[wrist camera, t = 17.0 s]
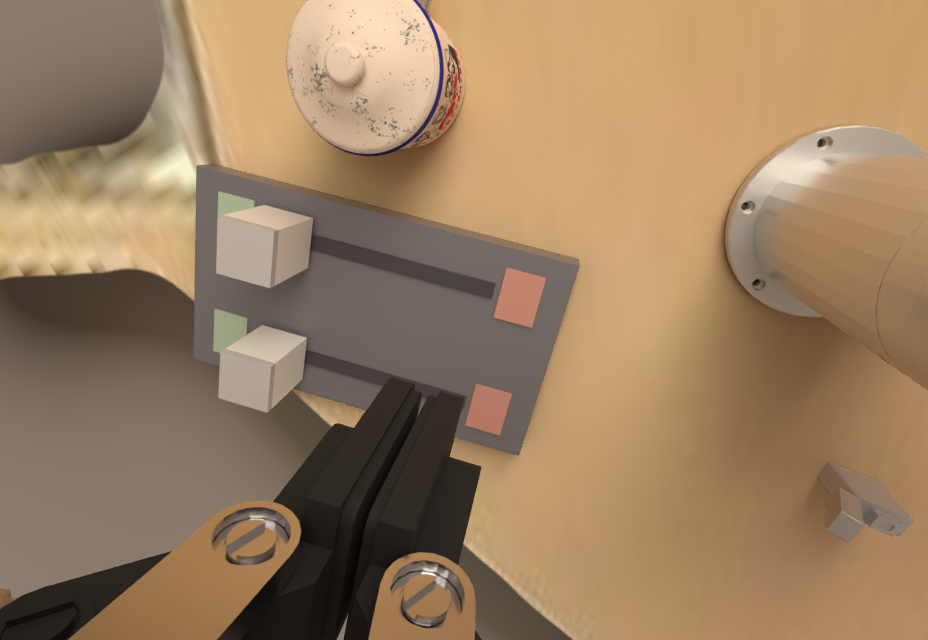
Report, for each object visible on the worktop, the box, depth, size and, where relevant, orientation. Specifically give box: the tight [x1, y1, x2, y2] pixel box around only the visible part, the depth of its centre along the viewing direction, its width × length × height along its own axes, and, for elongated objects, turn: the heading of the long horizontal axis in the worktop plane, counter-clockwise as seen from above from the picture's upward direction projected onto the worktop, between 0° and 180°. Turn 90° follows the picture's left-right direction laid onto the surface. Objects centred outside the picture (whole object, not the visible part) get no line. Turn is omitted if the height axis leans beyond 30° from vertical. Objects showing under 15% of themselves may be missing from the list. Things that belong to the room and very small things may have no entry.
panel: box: [194, 164, 579, 456], centre depth 42 cm, size 30×17×2 cm, turn 77°
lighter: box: [818, 462, 913, 542], centre depth 37 cm, size 7×2×8 cm, turn 70°
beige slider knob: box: [219, 325, 307, 413], centre depth 40 cm, size 4×4×6 cm
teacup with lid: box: [286, 0, 465, 156], centre depth 30 cm, size 12×9×12 cm
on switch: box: [216, 205, 313, 288], centre depth 36 cm, size 4×4×6 cm
